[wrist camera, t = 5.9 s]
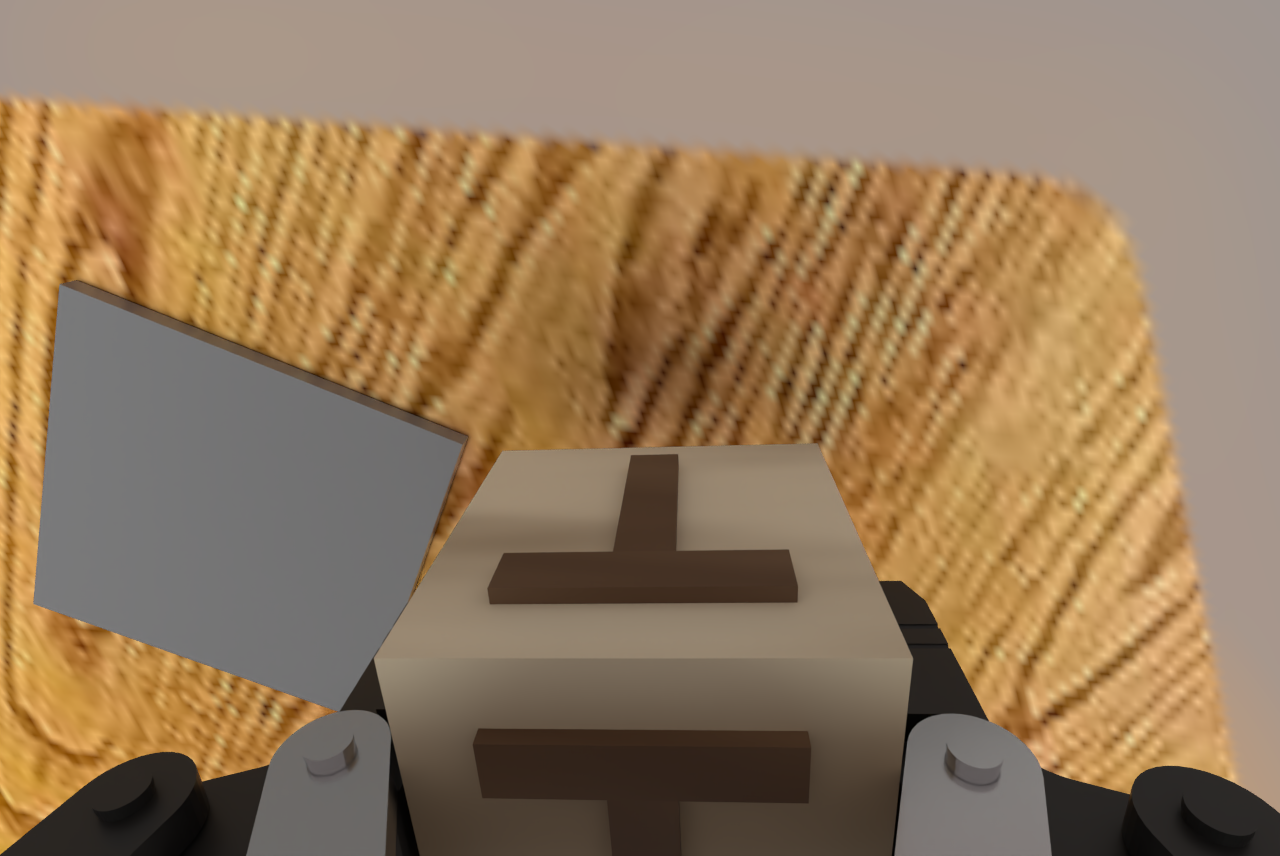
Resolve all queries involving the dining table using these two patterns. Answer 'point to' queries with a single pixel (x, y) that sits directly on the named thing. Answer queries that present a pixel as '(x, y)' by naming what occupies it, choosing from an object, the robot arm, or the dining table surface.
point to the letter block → (650, 663)
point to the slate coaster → (229, 500)
